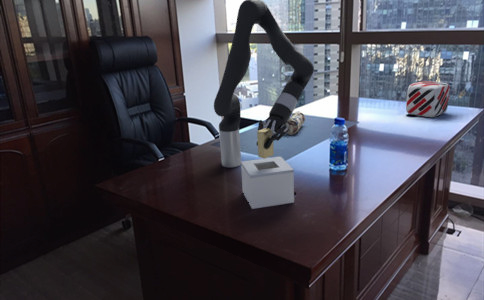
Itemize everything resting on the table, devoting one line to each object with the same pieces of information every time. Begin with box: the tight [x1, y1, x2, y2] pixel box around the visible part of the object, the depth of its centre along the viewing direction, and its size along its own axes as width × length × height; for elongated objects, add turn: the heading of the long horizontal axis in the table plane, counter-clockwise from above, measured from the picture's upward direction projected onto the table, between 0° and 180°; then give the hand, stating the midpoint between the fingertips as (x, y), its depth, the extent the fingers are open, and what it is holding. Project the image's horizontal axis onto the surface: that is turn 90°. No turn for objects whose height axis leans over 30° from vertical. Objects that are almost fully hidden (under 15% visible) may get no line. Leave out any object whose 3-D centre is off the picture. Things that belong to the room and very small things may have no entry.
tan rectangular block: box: [256, 128, 275, 159], centre depth 146 cm, size 3×5×10 cm, turn 133°
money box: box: [240, 156, 295, 210], centre depth 151 cm, size 15×16×13 cm
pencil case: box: [285, 110, 306, 136], centre depth 237 cm, size 22×8×10 cm, turn 160°
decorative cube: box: [405, 80, 451, 118], centre depth 253 cm, size 20×20×20 cm
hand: (261, 147), depth 145 cm, fingers closed on tan rectangular block, 3 cm apart
